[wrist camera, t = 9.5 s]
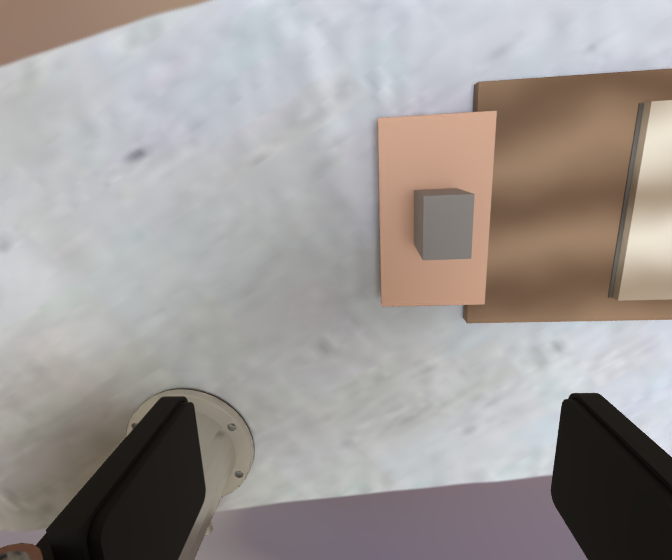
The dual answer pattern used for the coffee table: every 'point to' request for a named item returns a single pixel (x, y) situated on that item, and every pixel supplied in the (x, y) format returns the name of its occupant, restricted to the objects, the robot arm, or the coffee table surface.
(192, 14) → the coffee table surface
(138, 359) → the coffee table surface
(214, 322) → the coffee table surface
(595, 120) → the board
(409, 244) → the peach lid with handle
